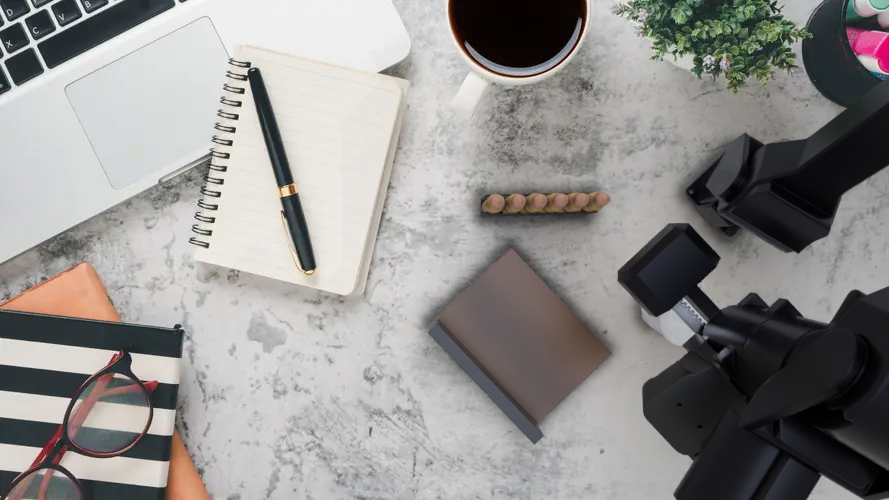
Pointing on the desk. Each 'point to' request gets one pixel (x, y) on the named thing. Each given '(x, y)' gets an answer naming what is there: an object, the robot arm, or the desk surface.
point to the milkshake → (671, 325)
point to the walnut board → (518, 342)
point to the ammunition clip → (543, 204)
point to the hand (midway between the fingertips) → (693, 325)
